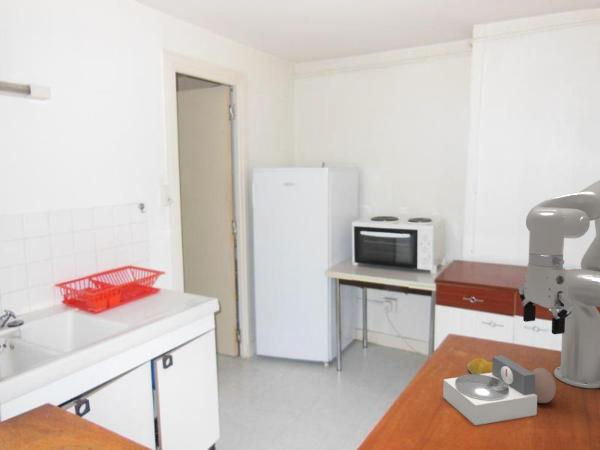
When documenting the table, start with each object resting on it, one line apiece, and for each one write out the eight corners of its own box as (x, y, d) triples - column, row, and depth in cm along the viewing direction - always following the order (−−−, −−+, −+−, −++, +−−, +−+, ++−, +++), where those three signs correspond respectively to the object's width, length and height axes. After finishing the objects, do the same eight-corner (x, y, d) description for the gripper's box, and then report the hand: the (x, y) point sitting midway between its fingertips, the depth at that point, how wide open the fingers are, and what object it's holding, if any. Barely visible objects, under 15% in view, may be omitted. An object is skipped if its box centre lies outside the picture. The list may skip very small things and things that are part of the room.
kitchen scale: (499, 388, 124) (500, 353, 123) (536, 414, 111) (538, 375, 110) (443, 397, 120) (443, 361, 119) (475, 425, 107) (475, 385, 106)
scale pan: (487, 374, 122) (487, 371, 122) (520, 396, 110) (520, 393, 110) (445, 380, 119) (445, 377, 119) (474, 403, 107) (474, 400, 107)
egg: (547, 395, 120) (549, 362, 119) (560, 408, 113) (561, 374, 112) (521, 395, 120) (523, 362, 119) (532, 408, 114) (534, 373, 113)
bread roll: (493, 382, 129) (493, 369, 128) (464, 372, 135) (464, 360, 135) (506, 373, 134) (507, 360, 133) (477, 364, 141) (478, 352, 140)
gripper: (587, 266, 105) (583, 337, 107) (533, 253, 122) (531, 315, 124) (560, 268, 103) (557, 340, 105) (508, 255, 120) (507, 318, 122)
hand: (543, 326), depth 115 cm, fingers open, 9 cm apart
